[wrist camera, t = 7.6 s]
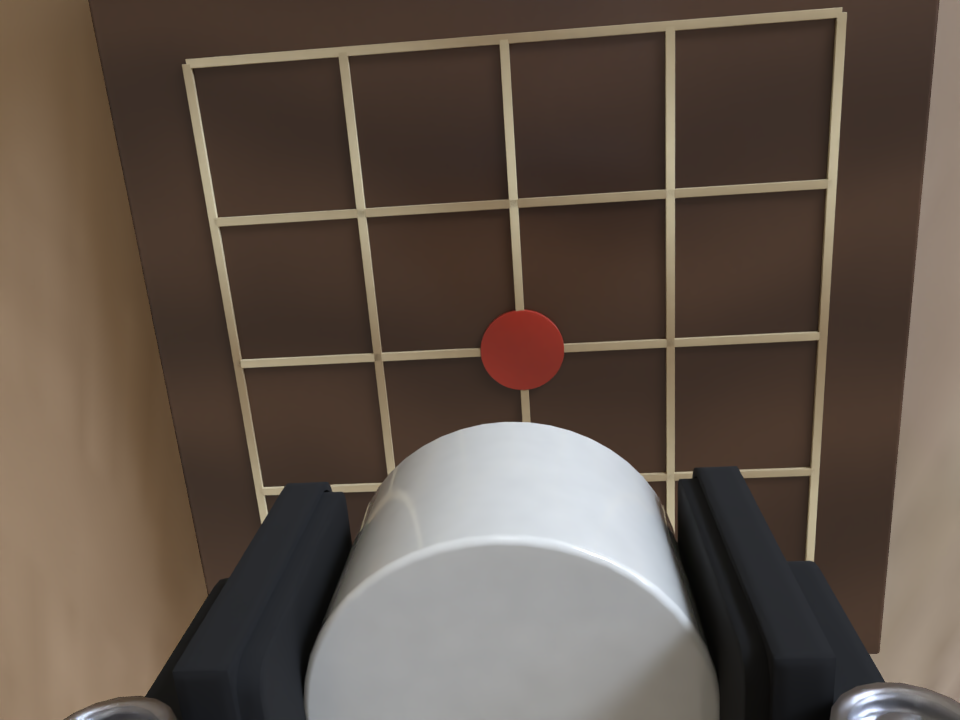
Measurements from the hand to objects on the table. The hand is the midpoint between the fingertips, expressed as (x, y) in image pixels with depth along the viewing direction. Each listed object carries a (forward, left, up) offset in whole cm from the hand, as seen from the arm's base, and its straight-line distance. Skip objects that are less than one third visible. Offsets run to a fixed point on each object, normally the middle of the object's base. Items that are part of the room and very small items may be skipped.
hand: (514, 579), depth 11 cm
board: (0, 0, -11) cm, 11 cm away
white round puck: (0, 0, 0) cm, 0 cm away
